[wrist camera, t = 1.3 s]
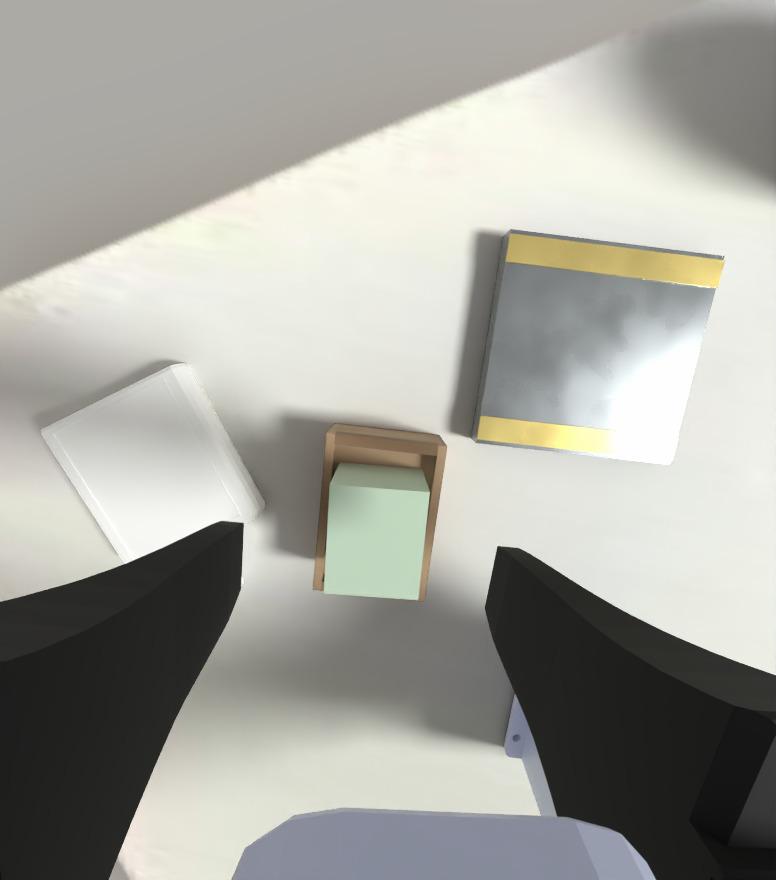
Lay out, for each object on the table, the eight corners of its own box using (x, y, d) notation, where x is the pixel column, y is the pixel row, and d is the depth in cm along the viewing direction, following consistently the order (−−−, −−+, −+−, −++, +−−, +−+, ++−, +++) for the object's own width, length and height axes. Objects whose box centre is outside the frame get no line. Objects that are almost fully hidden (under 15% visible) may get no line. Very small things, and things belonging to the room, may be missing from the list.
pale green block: (412, 559, 20) (418, 600, 17) (334, 553, 20) (323, 593, 17) (422, 468, 19) (429, 492, 16) (339, 462, 19) (329, 484, 16)
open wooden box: (419, 567, 23) (424, 601, 20) (323, 557, 23) (312, 589, 20) (438, 433, 22) (447, 446, 18) (335, 422, 21) (326, 432, 18)
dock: (654, 459, 21) (671, 465, 20) (470, 438, 21) (476, 443, 20) (703, 262, 19) (725, 255, 18) (502, 237, 19) (511, 228, 18)
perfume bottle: (173, 362, 19) (289, 571, 21) (193, 362, 21) (298, 554, 23) (32, 432, 20) (159, 628, 22) (64, 425, 21) (178, 606, 24)
